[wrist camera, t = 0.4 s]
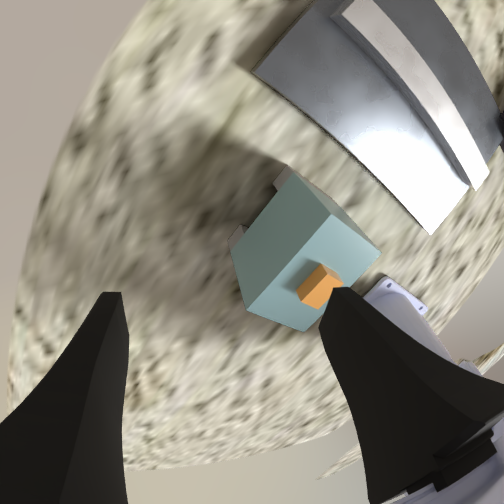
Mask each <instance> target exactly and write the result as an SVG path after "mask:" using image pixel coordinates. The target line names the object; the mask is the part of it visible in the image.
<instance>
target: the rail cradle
mask: <svg viewBox="0 0 504 504" xmlns="http://www.w3.org/2000/svg"><path fill="white" fill-rule="evenodd" d="M251 73H253V74H254V75H255V76H257V77H258V78H259V79H261V80H262V81H264V82H265V83H266V84H268V85H269V86H270V87H272V88H273V89H274V90H276V91H277V92H278V93H280V94H281V95H282V96H284V97H285V98H286V99H287V100H289V101H290V102H291V103H292V104H294V105H295V106H296V107H298V108H299V109H300V110H301V111H302V112H304V113H305V114H306V115H307V116H309V117H310V118H311V119H312V120H313V121H315V122H316V123H317V124H318V125H319V126H320V127H322V128H323V129H324V130H325V131H326V132H327V133H329V134H330V135H331V136H332V137H333V138H334V139H335V140H336V141H338V142H339V143H340V144H341V145H342V146H343V147H344V148H345V149H346V150H348V151H349V152H350V153H351V154H352V155H353V156H354V157H355V158H356V159H357V160H358V161H359V162H360V163H361V164H362V165H364V166H365V167H366V168H367V169H368V170H369V171H370V172H371V173H372V174H373V175H374V176H375V177H376V178H377V179H378V180H379V181H380V182H381V183H382V184H383V185H384V186H385V187H386V188H387V189H388V190H389V191H390V192H391V193H392V195H393V196H394V197H395V198H396V199H397V200H398V201H399V202H400V203H401V204H402V205H403V206H404V207H405V208H406V209H407V211H408V212H409V213H410V214H411V215H412V216H413V217H414V218H415V219H416V220H417V222H418V223H419V224H420V225H421V226H422V227H423V228H424V229H425V230H426V231H427V232H428V233H429V234H430V235H431V234H432V233H433V232H434V231H435V229H436V228H437V227H438V226H439V225H440V223H441V222H442V221H443V220H444V219H445V217H446V216H447V215H448V214H449V212H450V211H451V210H452V209H453V207H454V206H455V205H456V204H457V202H458V201H459V200H460V198H461V197H462V196H463V195H464V193H465V192H466V191H467V189H468V188H469V187H471V188H472V189H474V190H475V191H476V190H477V189H478V188H479V186H480V185H481V184H482V182H483V181H484V179H485V178H486V177H487V175H488V174H489V170H488V168H487V166H486V163H487V162H488V161H489V159H490V158H491V156H492V155H493V153H494V152H495V150H496V149H497V147H498V146H499V144H500V143H501V141H502V140H503V137H502V134H503V131H504V120H503V118H502V116H501V113H500V111H499V109H498V106H497V104H496V102H495V100H494V98H493V96H492V94H491V91H490V89H489V87H488V85H487V83H486V81H485V79H484V78H483V76H482V74H481V72H480V70H479V68H478V66H477V65H476V63H475V61H474V59H473V58H472V56H471V54H470V52H469V51H468V49H467V47H466V46H465V44H464V43H463V41H462V39H461V38H460V36H459V35H458V33H457V32H456V30H455V29H454V27H453V26H452V24H451V23H450V21H449V20H448V18H447V17H446V15H445V14H444V13H443V11H442V10H441V9H440V7H439V6H438V5H437V3H436V2H435V1H434V0H313V1H312V3H311V4H310V5H309V6H308V7H307V8H306V9H305V10H304V11H303V12H302V13H301V14H300V15H299V16H298V17H297V18H296V19H295V21H294V22H293V23H292V24H291V25H290V26H289V27H288V28H287V29H286V31H285V32H284V33H283V34H282V35H281V36H280V37H279V38H278V40H277V41H276V42H275V43H274V44H273V45H272V47H271V48H270V49H269V50H268V51H267V52H266V54H265V55H264V56H263V57H262V58H261V60H260V61H259V62H258V63H257V64H256V66H255V67H254V68H253V69H252V71H251Z"/></svg>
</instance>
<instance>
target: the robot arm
mask: <svg viewBox="0 0 504 504" xmlns="http://www.w3.org/2000/svg"><path fill="white" fill-rule="evenodd" d="M427 310H428V307H427V306H426V305H425V304H424V303H423V302H421V301H420V300H419V299H417V298H416V297H415V296H414V295H412V294H411V293H410V292H408V291H407V290H406V289H404V288H403V287H402V286H400V285H399V284H398V283H396V282H395V281H394V280H392V279H391V278H390V277H388V276H385V277H383V278H382V279H381V280H380V281H379V282H378V283H377V284H376V285H375V286H374V287H373V288H372V289H371V290H370V291H369V292H368V293H367V294H366V295H365V296H364V297H363V298H362V297H361V296H360V295H358V294H357V293H356V292H355V291H353V290H352V289H350V288H349V287H333V290H332V292H331V295H330V298H329V301H328V303H327V306H326V309H325V312H324V314H323V317H322V320H321V322H320V325H319V331H320V335H321V339H322V342H323V345H324V349H325V352H326V354H327V356H328V359H329V361H330V363H331V366H332V368H333V370H334V372H335V375H336V377H337V379H338V381H339V384H340V386H341V388H342V390H343V393H344V395H345V397H346V400H347V402H348V405H349V407H350V410H351V414H352V417H353V420H354V424H355V427H356V431H357V435H358V439H359V443H360V447H361V452H362V457H363V462H364V468H365V474H366V482H367V490H368V499H369V502H370V504H382V503H384V502H386V501H388V500H391V499H393V498H395V497H398V496H400V495H402V494H405V496H406V497H404V498H402V499H400V500H397V501H395V502H393V503H391V504H504V384H501V383H499V382H495V381H493V380H490V379H486V378H484V377H483V376H482V375H481V373H480V372H479V370H478V369H477V367H476V366H475V365H474V363H473V362H466V361H462V362H461V363H460V364H459V366H458V365H457V364H456V363H455V362H454V361H453V360H452V359H451V356H450V354H449V352H448V351H447V349H446V348H445V346H444V345H443V343H442V342H441V341H440V339H439V338H438V336H437V335H436V334H435V332H434V331H433V329H432V328H431V327H430V325H429V324H428V323H427V321H426V320H425V318H424V317H423V315H424V314H425V313H426V312H427ZM128 358H129V332H128V327H127V322H126V317H125V312H124V306H123V301H122V295H121V292H103V293H101V294H100V296H99V298H98V299H97V301H96V303H95V304H94V306H93V308H92V309H91V311H90V312H89V314H88V315H87V317H86V319H85V320H84V322H83V323H82V325H81V326H80V328H79V329H78V331H77V332H76V334H75V335H74V337H73V338H72V340H71V341H70V343H69V344H68V346H67V347H66V348H65V350H64V351H63V353H62V354H61V355H60V357H59V358H58V360H57V361H56V362H55V364H54V365H53V366H52V368H51V369H50V370H49V371H48V373H47V374H46V375H45V376H44V378H43V379H42V380H41V381H40V383H39V384H38V385H37V386H36V387H35V388H34V389H33V391H32V392H31V393H30V394H29V395H28V396H27V397H26V398H25V400H24V401H23V402H22V403H21V404H20V405H19V406H18V407H17V408H16V409H15V410H14V411H13V412H12V413H11V414H10V415H9V416H8V417H6V418H5V419H4V420H3V422H1V423H0V504H128V501H127V494H126V485H125V477H124V466H123V452H122V415H123V404H124V395H125V386H126V378H127V370H128Z"/></svg>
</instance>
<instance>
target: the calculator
mask: <svg viewBox="0 0 504 504" xmlns="http://www.w3.org/2000/svg"><path fill="white" fill-rule="evenodd" d="M501 116H502V118H503V120H504V111H503V113H502V115H501ZM502 137H503V140H502V141H501V143H500V144H499V145H500V146H501V148H502V150H503V152H504V131H503V134H502Z"/></svg>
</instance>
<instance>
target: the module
mask: <svg viewBox="0 0 504 504" xmlns="http://www.w3.org/2000/svg"><path fill="white" fill-rule="evenodd" d="M273 185H274V186H275V188H276V189H277V190H278V192H277V193H276V194H275V196H274V197H273V198H272V199H271V201H270V202H269V203H268V204H267V206H266V207H265V208H264V209H263V211H262V212H261V213H260V214H259V216H258V217H257V218H256V219H255V221H254V222H253V223H252V224H251V226H250V227H249V228H247V227H245V226H243V225H241V224H240V225H239V226H238V228H237V229H236V230H235V232H234V233H233V234H232V236H231V237H230V238H229V239H228V245H229V249H230V253H231V256H232V260H233V264H234V268H235V271H236V275H237V279H238V283H239V286H240V290H241V294H242V297H243V301H244V305H245V308H246V311H249V312H251V313H254V314H257V315H259V316H262V317H264V318H267V319H270V320H272V321H275V322H277V323H280V324H283V325H285V326H288V327H291V328H293V329H296V330H299V331H302V332H305V331H306V330H307V329H308V328H309V327H310V326H311V325H312V324H313V323H314V322H315V321H316V320H317V319H318V318H319V317H320V316H321V315H322V314H323V313H324V312H325V309H326V306H327V303H328V301H329V298H330V295H331V292H332V290H333V287H350V286H351V285H352V284H353V283H354V282H355V281H356V280H357V279H358V278H359V277H360V276H361V275H362V274H363V273H364V272H365V271H366V270H367V269H368V267H369V266H370V265H371V264H372V263H373V262H374V261H375V260H376V259H377V258H378V257H379V256H380V254H381V251H380V250H379V249H378V248H377V247H376V246H375V245H374V243H373V242H372V241H371V240H370V239H369V238H368V237H367V236H366V234H365V233H364V232H363V231H362V230H361V229H360V228H359V227H358V226H357V224H356V223H355V222H354V221H353V220H352V219H351V218H350V217H349V216H348V215H347V214H346V213H345V212H344V210H343V209H342V208H341V207H340V206H339V205H338V204H337V203H336V202H335V201H334V200H333V199H332V198H331V197H330V196H328V195H327V194H326V193H324V192H323V191H322V190H320V189H319V188H318V187H317V186H315V185H314V184H313V183H311V182H310V181H309V180H307V179H306V178H305V177H303V176H302V175H301V174H299V173H298V172H296V171H295V170H294V169H292V168H291V167H290V166H288V165H286V167H285V168H284V169H283V170H282V172H281V173H280V174H279V175H278V177H277V178H276V179H275V180H274V182H273Z"/></svg>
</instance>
